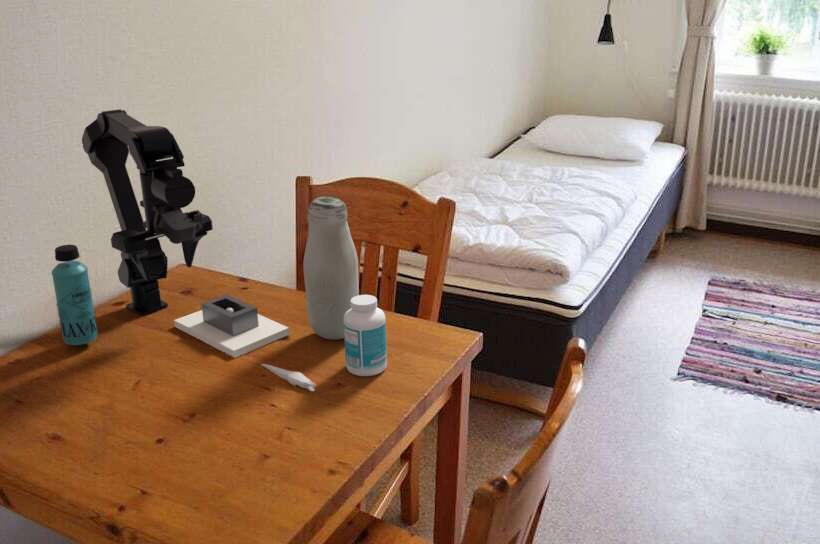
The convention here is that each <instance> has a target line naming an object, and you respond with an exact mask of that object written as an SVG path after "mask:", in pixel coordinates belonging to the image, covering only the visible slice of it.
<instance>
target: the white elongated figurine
mask: <svg viewBox="0 0 820 544" xmlns="http://www.w3.org/2000/svg"><path fill="white" fill-rule="evenodd" d="M261 366H262V367H264V368H265V369H267V370H269V372H272V373H273V374H275V375H276V376H278V377H279V378H281V379H284V380H285V381H287V382H288V383H289V384H291V385H292V386H295V387H297V386H298V387H300V388H302V389H307V390H309V391H310V392H315V391H316V389H315V387H317V383H316V382H313V381H312V380H311V379H309V378H308V377H306V376H305V375H304V373H301V372H300V371H291V370H288V369H284V368H280V367H277V366H275V365H270V364H266V363H261Z"/></svg>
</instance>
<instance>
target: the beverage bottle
mask: <svg viewBox="0 0 820 544" xmlns="http://www.w3.org/2000/svg"><path fill="white" fill-rule="evenodd" d="M54 254H55V255H54V258H55V261H57V262H60V263H57V265H55V267H54V268H53V269H52V270H51V276H52V281H53V288H54V293H55V298H56V299H55V300H56V307H57V308H56V310H57V314H58V315H57V317H58V319H59V320H58V321H59V322H58V323H59V328H60V331H61V337H62V340H63V342H64V343H65V344H66V345H70V346H71V345H72V346H79V345H85V344H88V343H90V342H92V341H94V340H96V339H97V338H98V333H99V330H98V322H97V316H96V312H95V309H96V308H95V306H94V301H93V295H92V288H91V285H90V277H89V272H88V266H87V265H86V264H85V263H83V262H81V261H78V260H77V259H79V258H80V252H79V249H78V247H77V245H75V244H63V245H60V246H59V245H58V246H57V247H55V249H54Z"/></svg>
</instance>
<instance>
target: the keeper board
mask: <svg viewBox="0 0 820 544" xmlns="http://www.w3.org/2000/svg"><path fill="white" fill-rule="evenodd" d="M226 310H227V311H229V312H231V313H234V310H233V309H232V308H227V309H226ZM173 321H174V327H175V328H176V329H179V330H180V331H182V332H184V333H186V334H188V335H190V336H192V337H194V338H195V337H196V339H198V340H199V339H200V341H201V340H202V341H201V342H204V343H205V344H207V345H209V346H210V347H213V348H215V349H217V350H219V351H221V352H223V353H224V352H225V354H226V355H228V356H230V357H233V358H234V359H235V358H238V357H241V356H244V355H245V354H247V353H249V352H252V351H255V350H257V349H259V348H261V347H264V346H266V345H269V344H271V343H273V342H276V341H277V340H280V339H282V338H285V337H287V336H289V335H290V328H289V326H286V325H284V324H281V323H279V322H276V321H275V320H272V319H270V318H267V317H266V316H263V315H262V314H259V313H258V325H259V326H258V327H256V328H253V329H251V330H248V331H246V332H243V333H241V334H238V335H236V336H231V335H229V334H227V333H225V332H223V331H221V330H219V329H217V328H215V327H213V326H211V325H209V324H207V323H205V322H203V313H202V309H201V310H198V311H195V312H192V313H190V314H187V315H184V316H182V317H179V318H176V319H174V320H173ZM240 355H241V356H240Z"/></svg>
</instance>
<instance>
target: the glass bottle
mask: <svg viewBox="0 0 820 544" xmlns="http://www.w3.org/2000/svg"><path fill="white" fill-rule="evenodd" d="M307 209H308V210H307V217H306V218H307V222H308V233H307V239H306V245H305V249H304V256H303V278H304V287H305V288H304V289H305V297H306V313H307V318H308V323H309V326H310V328H311V330H312V331H313V332H314V333H315V334H316V335H317V336H319V337H322V338H323V339H325V340H332V341H333V340H337V341H338V340H342V339H344V315H345V313H346V312H347V311H348V310H349V309H351V304H350V300H351V299H352V298H353V297H355V296H358V295H360V289H359V285H360V283H359V259H358V254H357V249H356V247H355V243H354V240H353V238H352V235H351V231H350V228H349V223H348V209H347V205H346V203H345V202H344V201H343V200H341V199H339V198H337V197H334V196H319V197H317V198H316V197H315V198H314V199H313V200H312V201H311V202H310V204H309V206H308V208H307Z"/></svg>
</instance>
